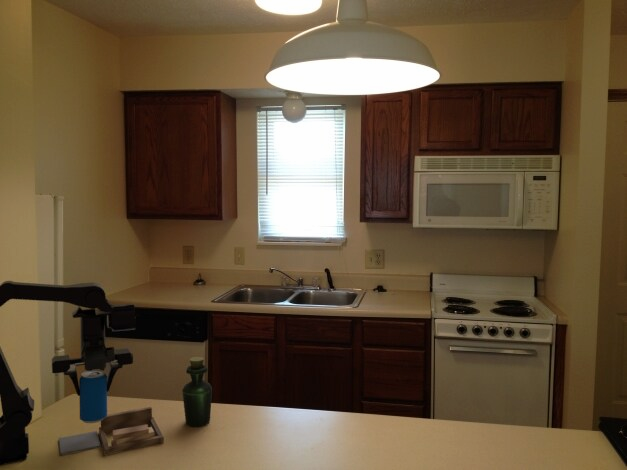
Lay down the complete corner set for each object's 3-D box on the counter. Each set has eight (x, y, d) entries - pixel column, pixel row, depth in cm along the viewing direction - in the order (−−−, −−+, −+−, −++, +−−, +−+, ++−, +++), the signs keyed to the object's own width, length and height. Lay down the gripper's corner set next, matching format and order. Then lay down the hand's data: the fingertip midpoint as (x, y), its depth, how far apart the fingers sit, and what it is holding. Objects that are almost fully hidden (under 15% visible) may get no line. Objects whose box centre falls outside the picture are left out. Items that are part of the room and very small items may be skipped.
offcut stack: (113, 451, 128) (112, 436, 127) (111, 445, 131) (110, 430, 131) (155, 442, 132) (154, 427, 132) (152, 436, 136) (151, 422, 135)
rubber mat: (60, 455, 126) (60, 453, 126) (59, 440, 134) (59, 438, 134) (100, 446, 130) (100, 445, 130) (96, 432, 138) (96, 430, 138)
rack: (105, 455, 126) (104, 437, 125) (99, 432, 138) (98, 416, 137) (163, 442, 132) (163, 425, 132) (153, 422, 144) (152, 406, 144)
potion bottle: (206, 429, 140) (205, 364, 138) (178, 427, 141) (176, 362, 140) (216, 417, 148) (216, 355, 146) (189, 415, 149) (188, 353, 148)
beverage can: (111, 414, 136) (111, 369, 135) (99, 425, 129) (98, 378, 128) (88, 413, 136) (87, 368, 136) (74, 423, 130) (74, 376, 129)
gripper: (52, 345, 120) (53, 411, 121) (136, 336, 129) (136, 398, 130) (51, 334, 130) (52, 395, 131) (129, 326, 138) (129, 384, 139)
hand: (93, 393), depth 132 cm, fingers closed on beverage can, 6 cm apart
